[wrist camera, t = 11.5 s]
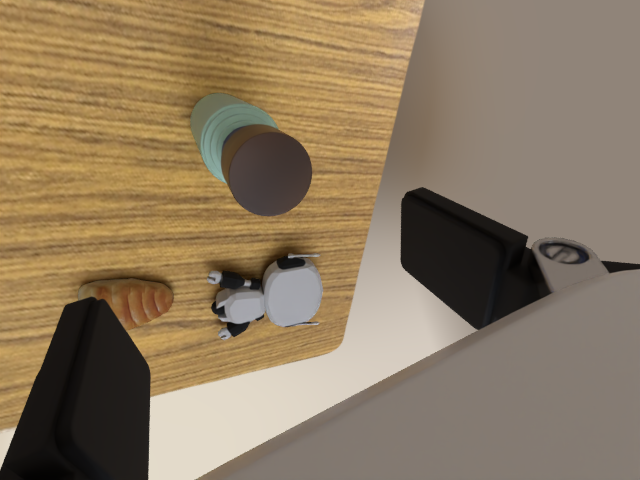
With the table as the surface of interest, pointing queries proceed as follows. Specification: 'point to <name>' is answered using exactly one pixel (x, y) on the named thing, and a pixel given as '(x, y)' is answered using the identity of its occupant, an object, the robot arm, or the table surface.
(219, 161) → the bottle
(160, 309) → the pastry
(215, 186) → the table surface
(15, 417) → the table surface
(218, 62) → the table surface
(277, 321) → the robot toy
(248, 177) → the cylinder
